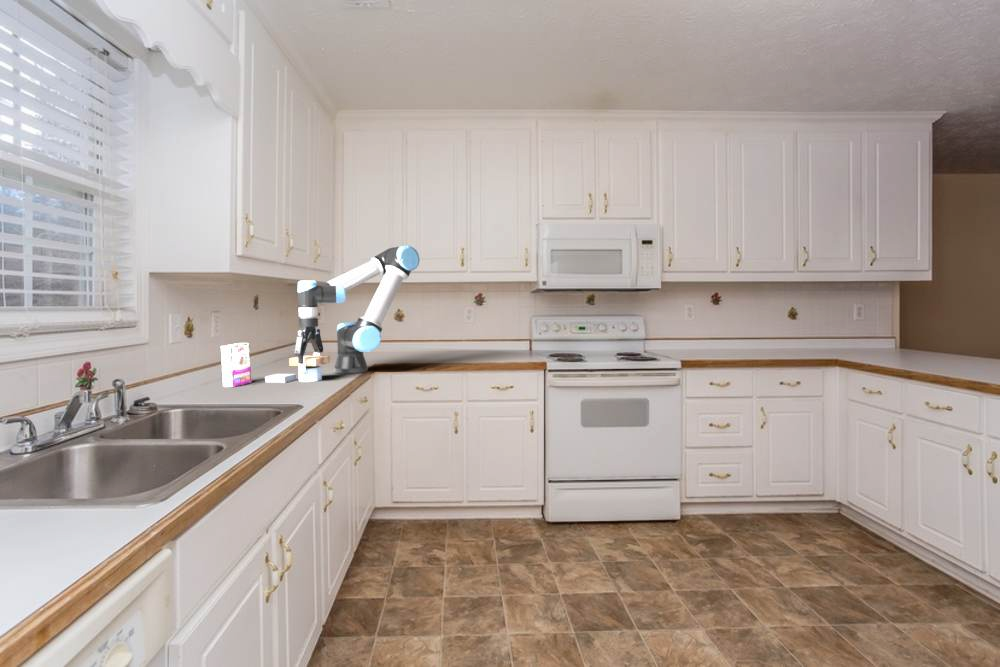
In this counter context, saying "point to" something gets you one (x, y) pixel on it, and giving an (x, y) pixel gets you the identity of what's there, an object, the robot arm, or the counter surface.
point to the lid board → (310, 360)
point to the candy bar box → (236, 364)
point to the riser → (280, 378)
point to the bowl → (310, 374)
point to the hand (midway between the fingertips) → (310, 369)
